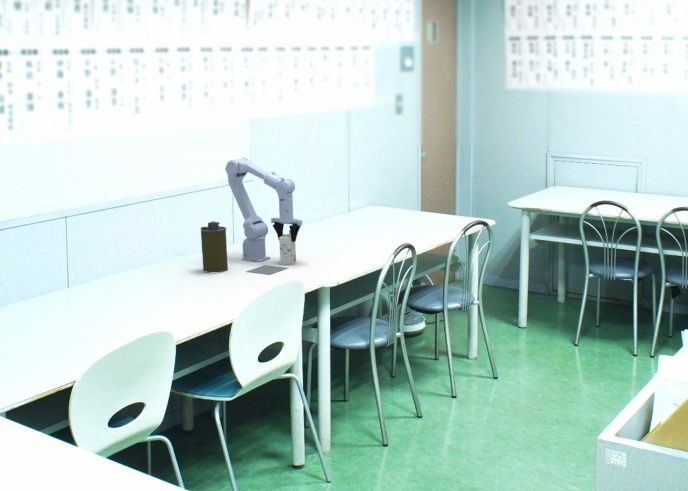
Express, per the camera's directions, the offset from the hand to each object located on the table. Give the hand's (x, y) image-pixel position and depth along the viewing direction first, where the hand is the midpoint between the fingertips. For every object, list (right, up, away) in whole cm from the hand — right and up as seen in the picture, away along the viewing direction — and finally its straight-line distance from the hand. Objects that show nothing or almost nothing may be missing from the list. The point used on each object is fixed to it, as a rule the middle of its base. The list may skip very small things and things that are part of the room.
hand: (287, 240), depth 415 cm
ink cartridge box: (0, -9, +2) cm, 10 cm away
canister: (-29, -12, -8) cm, 33 cm away
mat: (-8, -12, -11) cm, 18 cm away
